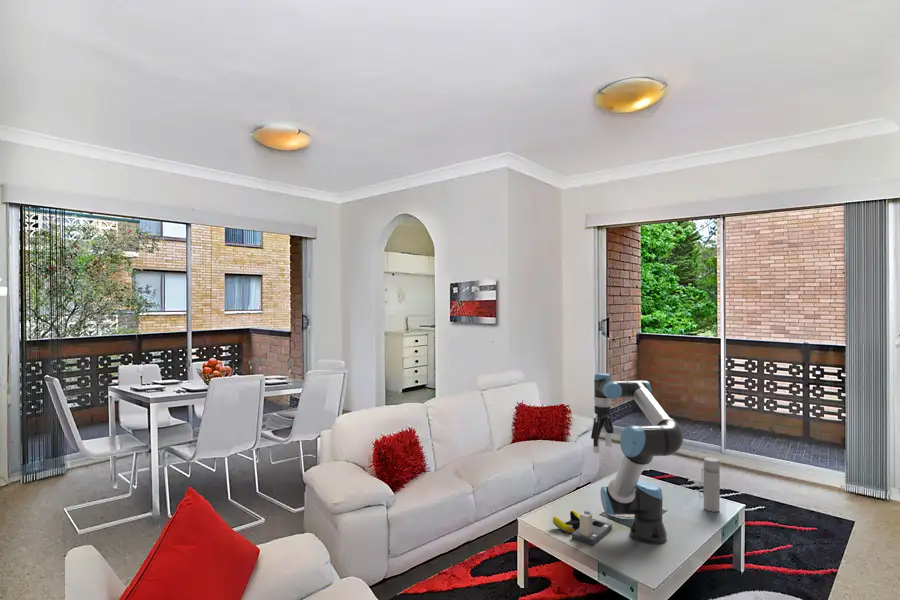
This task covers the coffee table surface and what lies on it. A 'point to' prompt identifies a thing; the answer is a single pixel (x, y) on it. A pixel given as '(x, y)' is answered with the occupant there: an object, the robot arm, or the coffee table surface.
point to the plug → (586, 523)
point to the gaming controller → (568, 523)
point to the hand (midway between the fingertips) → (602, 449)
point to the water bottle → (711, 484)
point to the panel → (593, 532)
